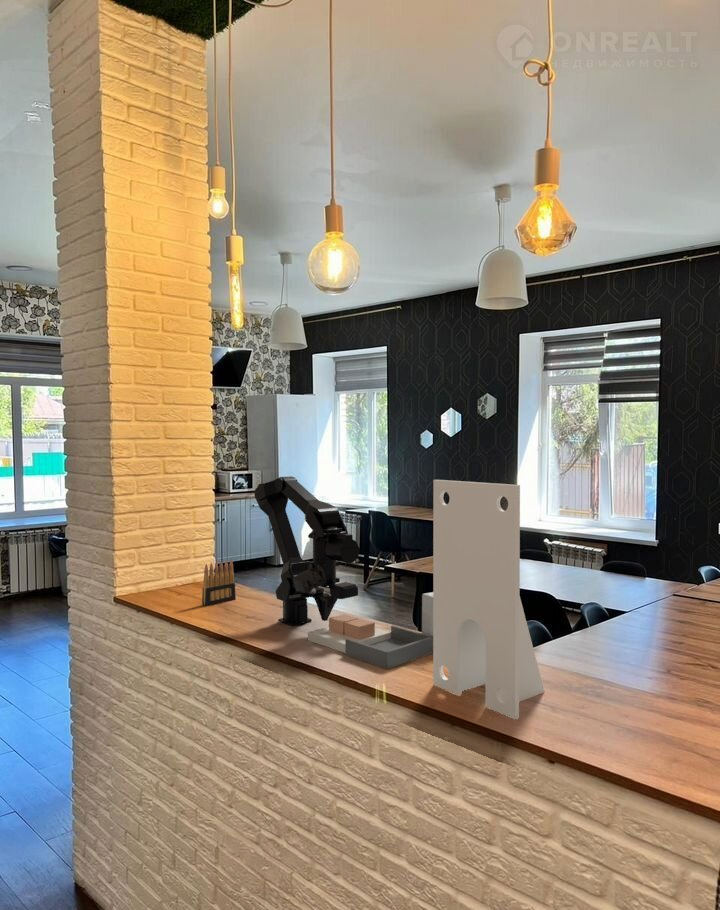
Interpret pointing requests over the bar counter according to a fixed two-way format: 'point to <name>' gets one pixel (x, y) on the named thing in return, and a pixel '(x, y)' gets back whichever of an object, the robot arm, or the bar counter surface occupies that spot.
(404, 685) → the bar counter surface
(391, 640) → the tray
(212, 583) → the ammunition clip
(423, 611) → the skincare box
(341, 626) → the tile rear
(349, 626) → the tile front
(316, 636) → the plate
